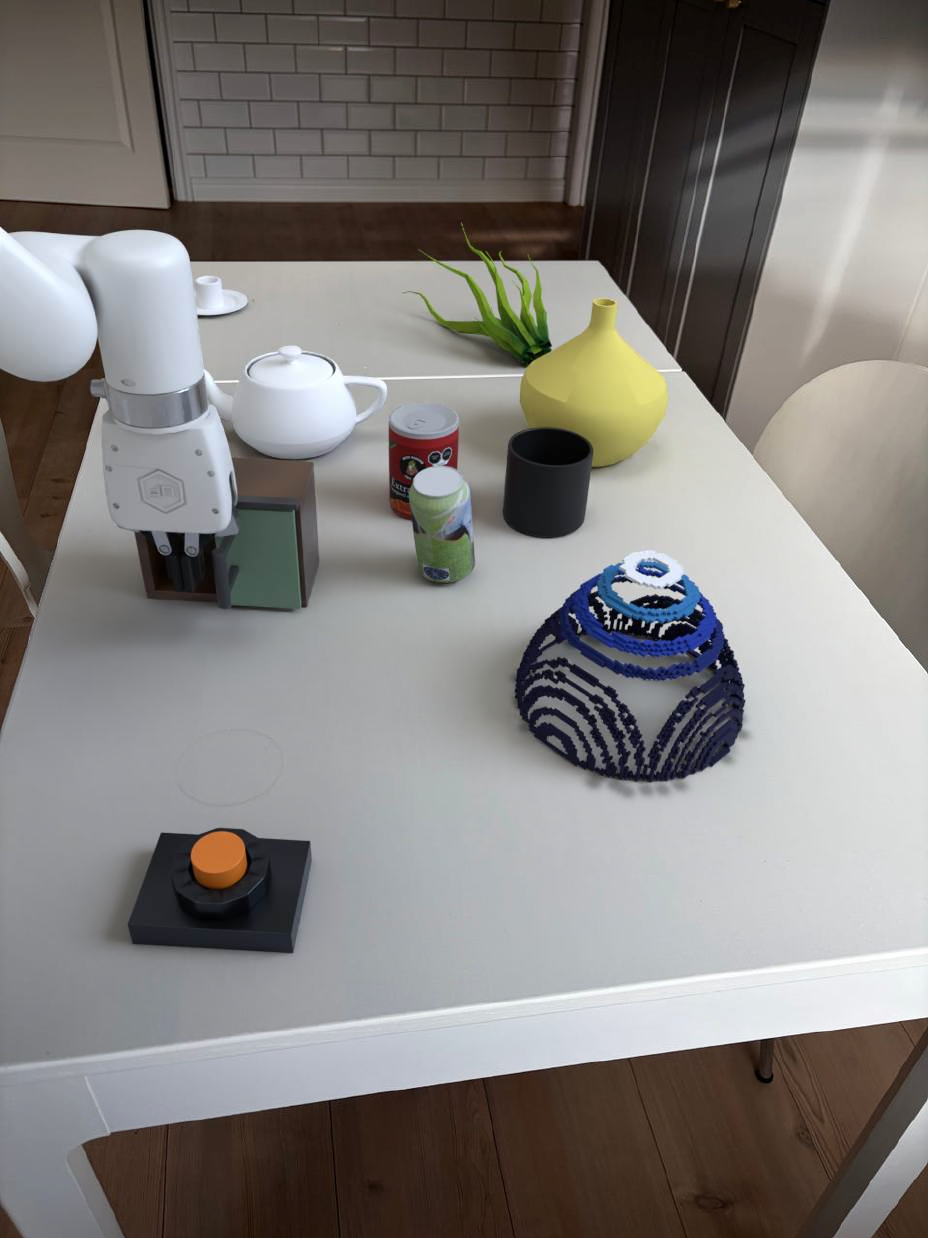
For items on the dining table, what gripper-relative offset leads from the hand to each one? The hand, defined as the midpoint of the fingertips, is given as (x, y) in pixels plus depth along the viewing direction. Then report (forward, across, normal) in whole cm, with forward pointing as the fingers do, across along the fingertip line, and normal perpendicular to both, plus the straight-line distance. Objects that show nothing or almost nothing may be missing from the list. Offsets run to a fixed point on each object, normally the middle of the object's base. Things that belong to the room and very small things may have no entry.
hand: (188, 583), depth 90 cm
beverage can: (+6, +22, +13) cm, 27 cm away
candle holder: (+6, -19, +86) cm, 88 cm away
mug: (+6, +34, +27) cm, 43 cm away
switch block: (+6, +10, -29) cm, 32 cm away
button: (+3, +9, -29) cm, 31 cm away
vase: (+6, +40, +42) cm, 58 cm away
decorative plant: (+6, +24, +79) cm, 82 cm away
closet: (+6, +2, +10) cm, 12 cm away
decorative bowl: (+6, +40, -6) cm, 41 cm away
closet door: (+6, +5, +2) cm, 8 cm away
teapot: (+6, +2, +41) cm, 41 cm away
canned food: (+6, +20, +27) cm, 34 cm away
